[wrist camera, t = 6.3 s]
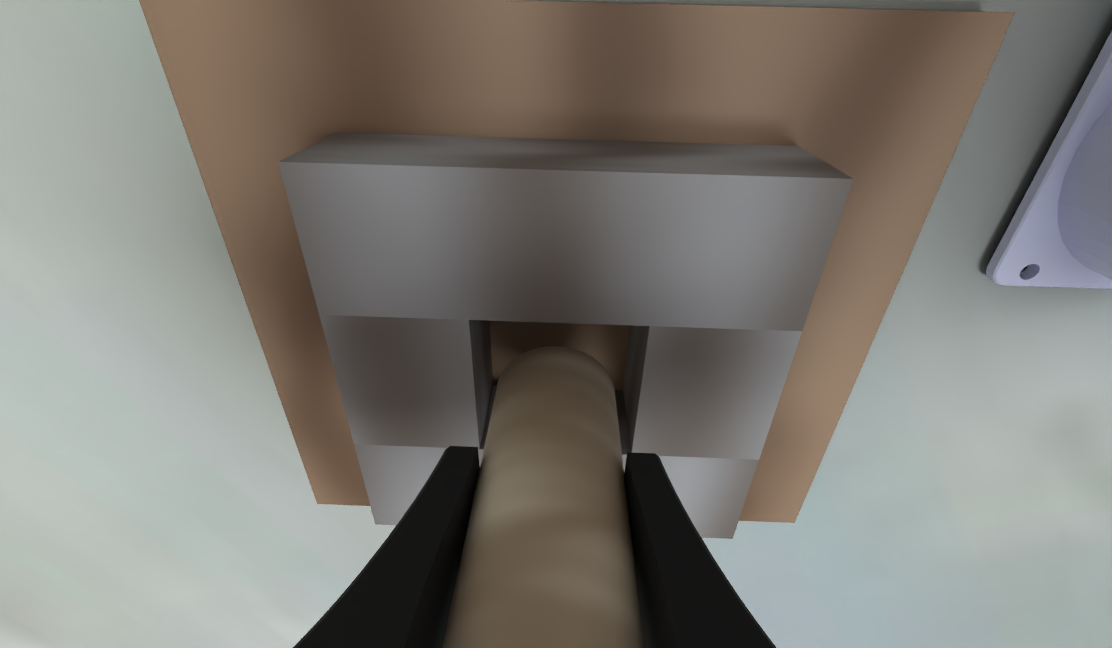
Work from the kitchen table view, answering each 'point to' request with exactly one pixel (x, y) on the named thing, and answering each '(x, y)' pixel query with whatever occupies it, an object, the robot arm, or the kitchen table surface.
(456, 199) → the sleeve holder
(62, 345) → the kitchen table surface
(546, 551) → the peg
